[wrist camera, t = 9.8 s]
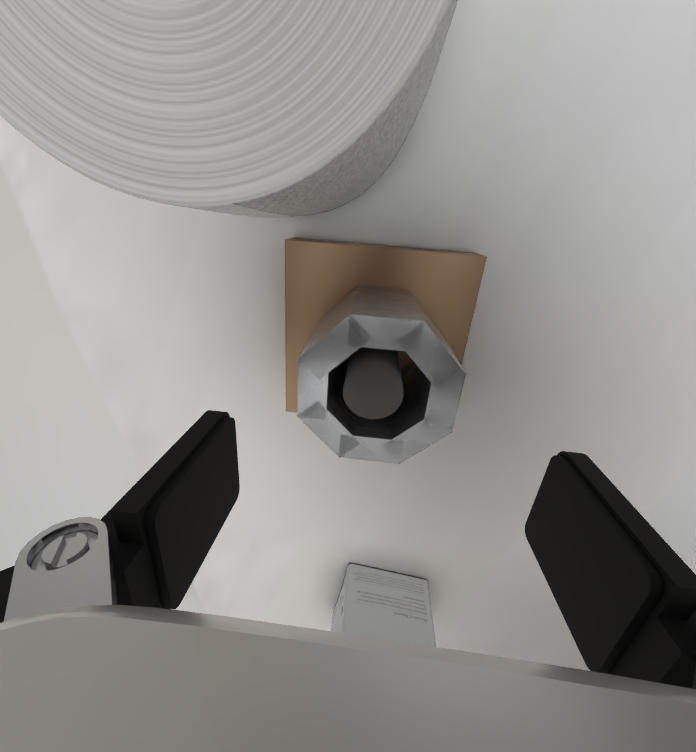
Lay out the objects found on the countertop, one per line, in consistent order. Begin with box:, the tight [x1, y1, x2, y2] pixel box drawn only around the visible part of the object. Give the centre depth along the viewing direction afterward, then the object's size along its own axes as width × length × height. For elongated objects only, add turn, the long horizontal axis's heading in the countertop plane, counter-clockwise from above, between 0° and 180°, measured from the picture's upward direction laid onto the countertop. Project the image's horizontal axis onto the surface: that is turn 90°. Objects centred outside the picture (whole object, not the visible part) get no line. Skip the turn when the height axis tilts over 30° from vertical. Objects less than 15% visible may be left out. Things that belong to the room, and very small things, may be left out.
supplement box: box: [331, 564, 436, 647], centre depth 25 cm, size 7×7×13 cm
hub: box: [297, 285, 466, 464], centre depth 16 cm, size 6×6×6 cm
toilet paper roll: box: [0, 0, 457, 217], centre depth 11 cm, size 12×12×12 cm
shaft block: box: [285, 238, 487, 419], centre depth 17 cm, size 10×10×8 cm
